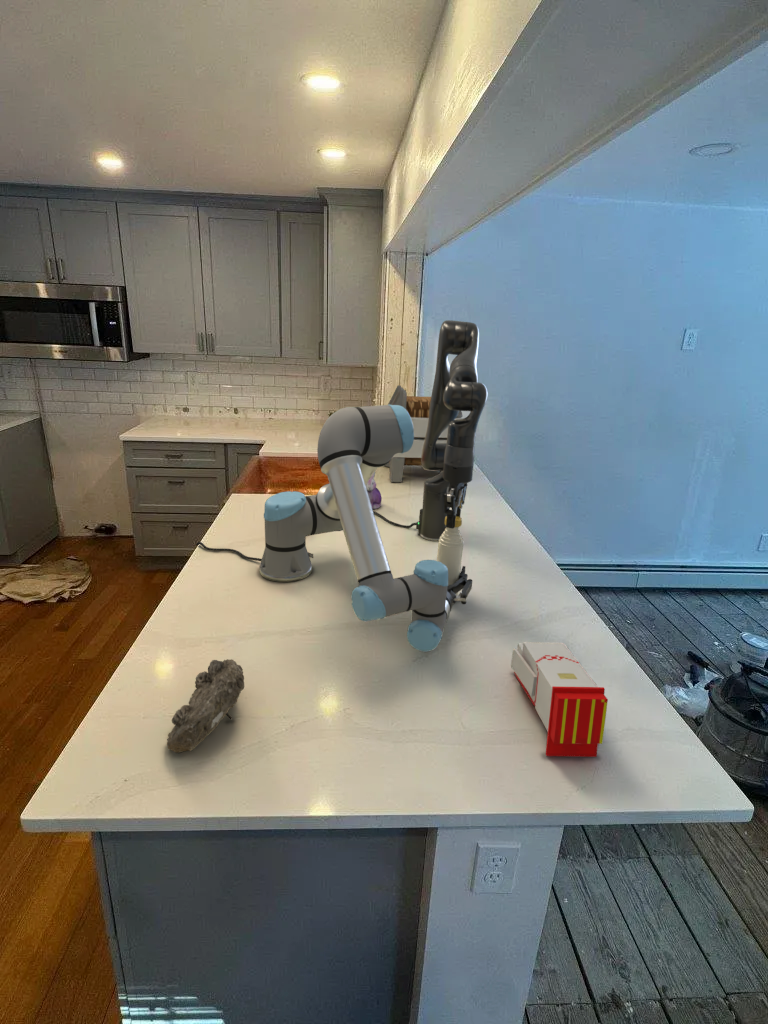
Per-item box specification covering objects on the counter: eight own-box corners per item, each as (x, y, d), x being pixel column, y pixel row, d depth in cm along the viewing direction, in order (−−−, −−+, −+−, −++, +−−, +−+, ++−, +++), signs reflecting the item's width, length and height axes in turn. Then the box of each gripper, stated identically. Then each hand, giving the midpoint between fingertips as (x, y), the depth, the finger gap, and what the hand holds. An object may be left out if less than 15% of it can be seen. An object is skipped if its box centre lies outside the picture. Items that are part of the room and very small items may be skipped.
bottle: (455, 592, 160) (463, 516, 152) (459, 604, 154) (467, 525, 146) (432, 591, 160) (439, 515, 152) (434, 603, 154) (442, 524, 146)
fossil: (192, 660, 117) (244, 628, 112) (224, 691, 120) (276, 661, 115) (142, 746, 98) (202, 712, 93) (182, 779, 101) (242, 748, 96)
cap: (462, 522, 151) (463, 516, 150) (459, 528, 147) (460, 522, 146) (446, 520, 152) (446, 514, 152) (442, 526, 148) (443, 519, 147)
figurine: (365, 511, 219) (366, 474, 214) (354, 503, 228) (355, 467, 223) (387, 509, 223) (388, 472, 218) (375, 501, 232) (377, 465, 227)
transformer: (382, 463, 289) (386, 382, 275) (445, 464, 293) (451, 384, 279) (390, 482, 257) (394, 392, 243) (460, 483, 261) (468, 394, 247)
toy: (559, 625, 127) (617, 695, 97) (554, 680, 130) (608, 764, 100) (506, 624, 126) (547, 694, 97) (501, 679, 129) (540, 763, 100)
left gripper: (395, 613, 142) (415, 575, 163) (474, 627, 137) (484, 586, 158) (397, 586, 139) (417, 551, 160) (477, 600, 135) (487, 561, 156)
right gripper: (452, 454, 151) (446, 514, 157) (436, 466, 139) (430, 531, 145) (479, 457, 149) (473, 519, 154) (466, 470, 136) (459, 536, 142)
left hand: (450, 568), depth 159 cm, fingers closed on bottle, 7 cm apart
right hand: (452, 524), depth 149 cm, fingers closed on cap, 4 cm apart
